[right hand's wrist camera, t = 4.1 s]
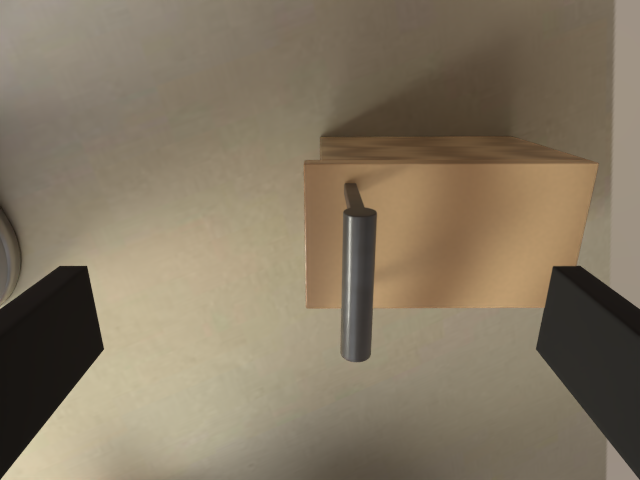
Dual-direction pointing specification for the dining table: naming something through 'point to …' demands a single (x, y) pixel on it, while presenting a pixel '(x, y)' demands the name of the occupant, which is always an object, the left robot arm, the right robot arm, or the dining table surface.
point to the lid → (438, 235)
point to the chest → (437, 148)
